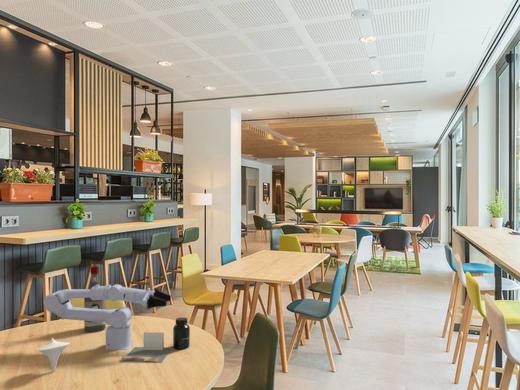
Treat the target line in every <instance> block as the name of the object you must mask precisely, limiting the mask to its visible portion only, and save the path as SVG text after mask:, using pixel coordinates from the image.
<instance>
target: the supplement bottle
mask: <svg viewBox="0 0 520 390" xmlns="http://www.w3.org/2000/svg"><path fill="white" fill-rule="evenodd" d="M190 330H191V326H190V325H189V324H188V318H187V317H177V318H176V319H175V325H174V326H173V329H172V336H173V337H172V347H173V348H172V349H175V350H178V351H182V350H186V349H189V348H190V346H191V345H190V343H191V341H190V338H191V333H190V332H191V331H190Z"/></svg>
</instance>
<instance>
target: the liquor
mask: <svg viewBox="0 0 520 390" xmlns="http://www.w3.org/2000/svg"><path fill="white" fill-rule="evenodd" d="M99 267H100V266H98V265H93V266H90V275H91V281H90V283H91V284H90V287H89V288H88V289H91V288H92V287H93V286H95V285H100V284H99V273H100V268H99ZM83 300H84V304H83V305H84V306H83V308H92V309H105V310H106V300H92V299H91V298H90V297H86V298H83ZM83 322H84V331H85V333H96V332H97V333H98V332H102V331H104V330H106V329H107V327H106V325H107V324H106V323H105V322H95V321H83Z"/></svg>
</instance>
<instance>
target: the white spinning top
mask: <svg viewBox="0 0 520 390" xmlns="http://www.w3.org/2000/svg"><path fill="white" fill-rule="evenodd" d="M70 344H71V343H70V342H66V341H57V340H56V339H54V338H53V337H51V339H50V341H48V342H47V343H45V344H44V345H42V346H41V347H39V348H38V349H37V350H36V351H37V352H40V353H42V354H43V355H45V357H46V358H47V359H48V360H49V363H50V366H51V369H52V372H53V373H54V371H56V368H57V363H58V361H59V358H60V356H61V354H62V353H63V351H64V350H65V349H66V348H68V346H69V345H70Z"/></svg>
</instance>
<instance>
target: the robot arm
mask: <svg viewBox="0 0 520 390" xmlns="http://www.w3.org/2000/svg"><path fill="white" fill-rule="evenodd" d="M86 297H90V298H91V299H92V300H105V301H108V300H110V301H111V302H116V301H123V302H129V303H134V304H141V306H145V307H146V309H147V310H150V309H152V308H159V307H160V308H161V307H166V306H167V303H168V302H170V301H171V298H172V295H170V294H168V293H165V292H163V291H162V290H161V289H159V288H155V290H151V287H148V288H147V289H140V288H134V287H129V286H128V287H126V286H123V285H122V284H118V283H115V284H114V285H111V284H107V285H100V284H99V285H95V286H93V287H92V288H91V289H89V288H87V289H85V288H84V289H82V288H80V289H79V288H78V289H77V288H74V289H73V288H66V289H60V290H59V289H58V290H57V291H55V292H53V293H51V294H48V295H46V296H45V297H44V299H43V306H44V308H45V309H46V311H47V312H49V313H53V314H54V315H56V316H57V317H59V318H61V319H62V320H72V321H83V322H84V321H95V322H105V323H106V325H107V327H106V329H105V330H106V331H105V348H104V349H105V350H107V351H108V350H111V351H112V350H113V351H119V350H120V351H122V350H123V351H127V350H128V349H130V348H131V347H132V346H133V345H134V344H135V343H134V341H133V342H131V322H130V320H131V319H132V317H133V312H132V309H130V307H127V306H122V307H121V308H112V309H106V308H105V309H92V308H84V307H76V306H73V305H72V302H71V300H73V299H84V298H86Z"/></svg>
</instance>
